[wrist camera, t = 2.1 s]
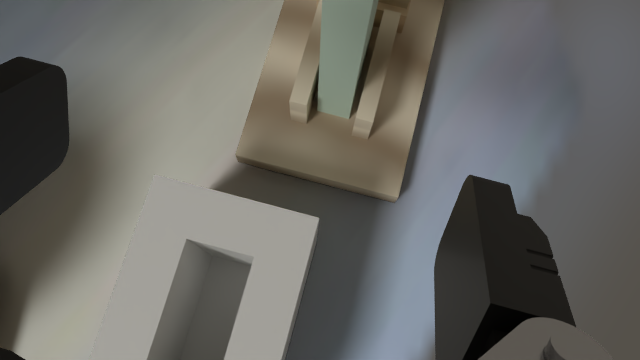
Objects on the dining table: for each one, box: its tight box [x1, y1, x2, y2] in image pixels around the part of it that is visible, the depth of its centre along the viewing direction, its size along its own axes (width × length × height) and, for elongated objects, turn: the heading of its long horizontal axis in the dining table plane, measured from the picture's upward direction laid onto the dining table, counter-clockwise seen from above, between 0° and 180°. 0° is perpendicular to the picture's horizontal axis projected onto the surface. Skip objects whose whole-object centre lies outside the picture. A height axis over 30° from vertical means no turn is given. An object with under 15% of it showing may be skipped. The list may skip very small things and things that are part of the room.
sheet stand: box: [89, 174, 319, 360], centre depth 28 cm, size 12×8×8 cm, turn 165°
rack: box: [235, 0, 445, 203], centre depth 34 cm, size 18×10×4 cm, turn 165°
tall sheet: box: [317, 0, 379, 119], centre depth 27 cm, size 5×2×14 cm, turn 165°
